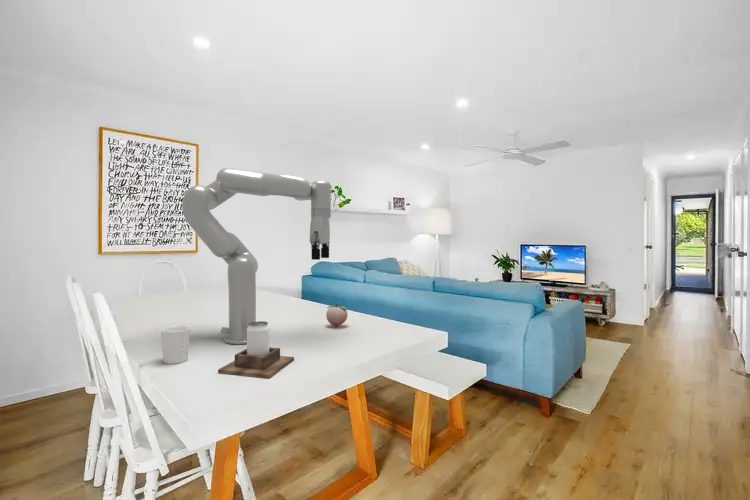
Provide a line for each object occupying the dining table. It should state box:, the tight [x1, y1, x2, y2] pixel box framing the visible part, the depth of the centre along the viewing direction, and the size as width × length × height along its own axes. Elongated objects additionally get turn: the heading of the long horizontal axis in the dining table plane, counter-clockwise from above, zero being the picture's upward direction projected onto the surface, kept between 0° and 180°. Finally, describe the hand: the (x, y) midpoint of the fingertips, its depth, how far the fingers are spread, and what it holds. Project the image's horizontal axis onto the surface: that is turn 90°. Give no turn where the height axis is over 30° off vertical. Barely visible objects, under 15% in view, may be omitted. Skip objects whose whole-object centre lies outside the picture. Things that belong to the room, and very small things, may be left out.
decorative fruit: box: [326, 304, 348, 328], centre depth 167 cm, size 9×8×10 cm
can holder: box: [217, 346, 295, 379], centre depth 117 cm, size 16×16×4 cm
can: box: [246, 320, 270, 356], centre depth 117 cm, size 6×6×12 cm
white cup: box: [160, 325, 191, 365], centre depth 121 cm, size 8×8×10 cm
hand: (320, 258), depth 149 cm, fingers open, 9 cm apart
